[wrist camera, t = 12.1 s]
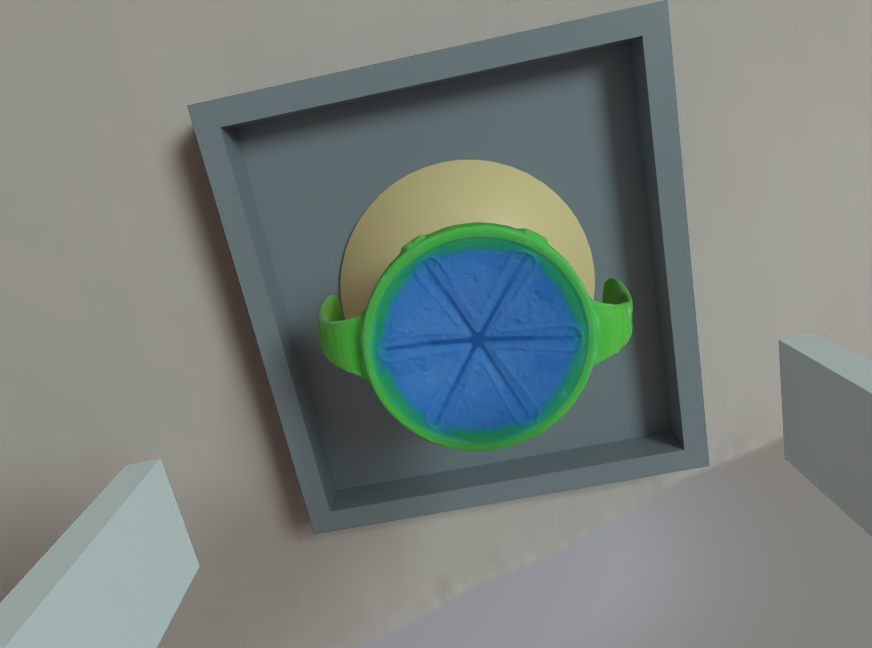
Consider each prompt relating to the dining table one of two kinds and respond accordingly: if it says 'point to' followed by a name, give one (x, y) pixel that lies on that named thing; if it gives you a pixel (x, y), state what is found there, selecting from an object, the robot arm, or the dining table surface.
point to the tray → (457, 204)
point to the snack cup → (478, 335)
